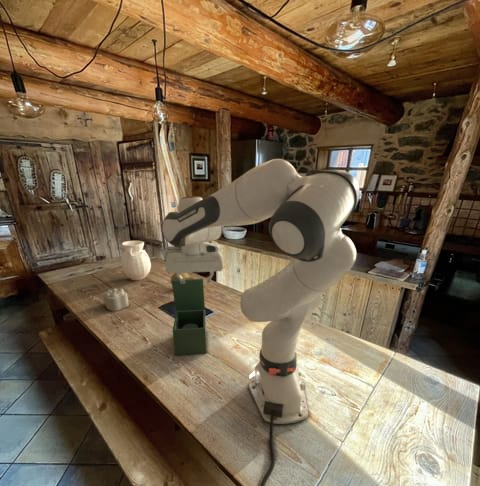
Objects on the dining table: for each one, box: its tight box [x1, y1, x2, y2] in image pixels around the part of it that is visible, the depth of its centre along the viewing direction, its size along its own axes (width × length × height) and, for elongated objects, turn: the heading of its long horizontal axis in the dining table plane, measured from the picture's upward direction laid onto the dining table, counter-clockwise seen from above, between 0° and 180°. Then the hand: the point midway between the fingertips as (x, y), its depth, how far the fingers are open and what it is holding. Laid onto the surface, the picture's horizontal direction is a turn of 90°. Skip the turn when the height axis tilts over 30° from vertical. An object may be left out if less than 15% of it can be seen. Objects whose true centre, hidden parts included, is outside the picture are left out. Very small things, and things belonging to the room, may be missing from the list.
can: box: [182, 324, 198, 329], centre depth 110 cm, size 6×6×9 cm
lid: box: [170, 276, 206, 312], centre depth 114 cm, size 16×13×5 cm
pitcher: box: [120, 240, 152, 281], centre depth 180 cm, size 19×18×25 cm
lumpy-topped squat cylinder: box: [103, 288, 130, 312], centre depth 146 cm, size 10×13×9 cm
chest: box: [172, 309, 207, 356], centre depth 113 cm, size 16×13×12 cm
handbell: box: [170, 272, 190, 284], centre depth 161 cm, size 12×12×25 cm
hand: (196, 282), depth 97 cm, fingers open, 8 cm apart
